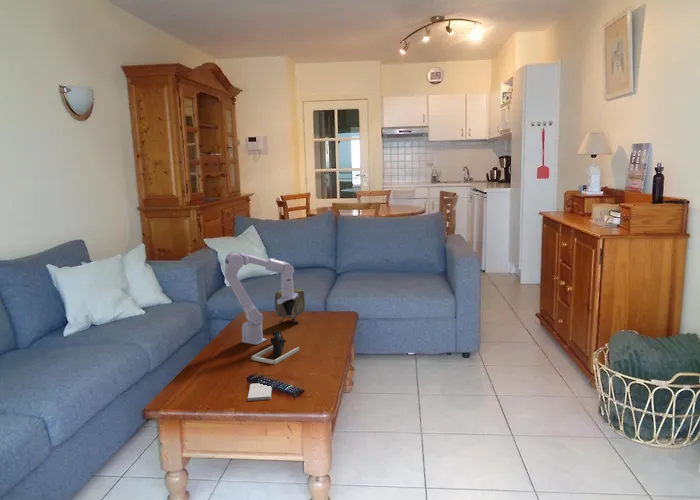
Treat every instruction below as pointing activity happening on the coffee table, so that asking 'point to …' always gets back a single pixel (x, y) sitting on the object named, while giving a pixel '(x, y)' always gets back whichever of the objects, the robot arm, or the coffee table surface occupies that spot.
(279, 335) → the gaming controller
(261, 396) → the external hard drive
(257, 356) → the grey u-shaped bracket
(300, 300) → the tabletop clock
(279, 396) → the coffee table surface
